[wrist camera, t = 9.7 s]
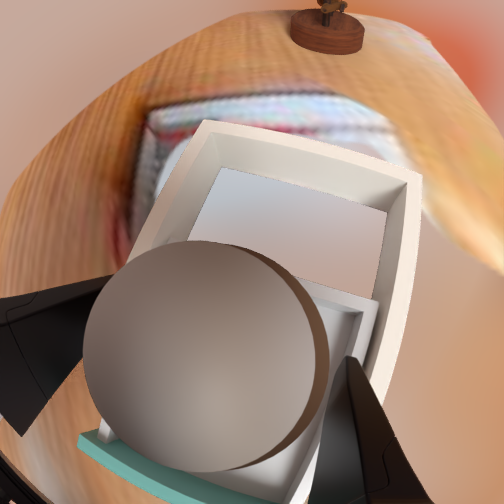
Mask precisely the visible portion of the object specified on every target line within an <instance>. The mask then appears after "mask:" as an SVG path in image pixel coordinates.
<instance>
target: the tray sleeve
mask: <svg viewBox="0 0 504 504" xmlns="http://www.w3.org/2000/svg"><path fill="white" fill-rule="evenodd" d="M221 167H223V168H228V169H233V170H237V171H241V172H246V173H251V174H255V175H259V176H263V177H267V178H271V179H275V180H279V181H283V182H287V183H291V184H294V185H298V186H302V187H305V188H309V189H313V190H316V191H320V192H323V193H327V194H330V195H334V196H337V197H340V198H343V199H347V200H350V201H353V202H357V203H360V204H363V205H366V206H369V207H372V208H375V209H378V210H381V211H384V212H387V219H386V225H385V232H384V238H383V244H382V250H381V255H380V261H379V266H378V271H377V276H376V280H375V285H374V290H373V294H372V298H371V300H374V301H377V302H379V306H378V310H377V314H376V318H375V322H374V326H373V330H372V334H371V338H370V341H369V345H368V348H367V352H366V355H365V358H364V362H363V365H362V368H363V370H364V372H365V374H366V376H367V378H368V380H369V382H370V384H371V386H372V388H373V390H374V392H375V394H376V396H377V398H378V400H379V402H380V404H381V406H382V404H383V401H384V398H385V395H386V392H387V389H388V386H389V383H390V380H391V377H392V373H393V370H394V367H395V363H396V360H397V356H398V352H399V349H400V345H401V340H402V336H403V332H404V328H405V324H406V319H407V314H408V309H409V304H410V299H411V294H412V287H413V282H414V275H415V268H416V261H417V253H418V244H419V233H420V221H421V205H422V175H421V174H419V173H416V172H414V171H411V170H408V169H406V168H403V167H400V166H398V165H395V164H392V163H389V162H386V161H383V160H380V159H377V158H374V157H371V156H368V155H365V154H362V153H358V152H355V151H352V150H349V149H345V148H341V147H338V146H335V145H331V144H327V143H323V142H320V141H316V140H312V139H308V138H304V137H299V136H295V135H291V134H286V133H281V132H277V131H272V130H267V129H262V128H256V127H251V126H245V125H239V124H233V123H227V122H220V121H213V120H205V119H204V120H203V121H202V123H201V124H200V126H199V128H198V129H197V131H196V132H195V134H194V136H193V137H192V139H191V140H190V142H189V144H188V145H187V147H186V149H185V150H184V152H183V154H182V156H181V157H180V159H179V160H178V162H177V164H176V166H175V167H174V169H173V171H172V173H171V174H170V176H169V178H168V180H167V182H166V183H165V185H164V187H163V189H162V191H161V193H160V194H159V196H158V198H157V200H156V202H155V204H154V206H153V208H152V210H151V212H150V214H149V216H148V218H147V220H146V222H145V224H144V226H143V228H142V230H141V232H140V234H139V236H138V238H137V240H136V242H135V244H134V247H133V249H132V251H131V253H130V255H129V257H128V260H127V262H126V264H127V263H128V262H130V261H131V260H132V259H134V258H135V257H137V256H139V255H141V254H143V253H144V252H146V251H149V250H151V249H154V248H156V247H159V246H162V245H166V244H167V242H168V240H169V238H170V237H171V238H174V239H177V240H180V241H187V239H188V237H189V234H190V232H191V230H192V228H193V226H194V223H195V221H196V219H197V217H198V215H199V213H200V210H201V208H202V206H203V204H204V202H205V200H206V198H207V195H208V194H209V192H210V190H211V187H212V185H213V183H214V181H215V179H216V177H217V175H218V173H219V171H220V169H221ZM126 264H125V265H126Z"/></svg>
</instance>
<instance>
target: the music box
mask: <svg viewBox="0 0 504 504" xmlns="http://www.w3.org/2000/svg"><path fill="white" fill-rule="evenodd" d="M317 3H318V4H319V5H320V6H322V8H321V9H306V10H302V11H299V12H297V13H296V14H294V15H293V16H292V17H291V38H292V40H293V41H294V42H295V43H296V44H298V45H300V46H302V47H304V48H306V49H309V50H312V51H316V52H320V53H326V54H335V55H346V54H352V53H356V52H358V51H359V50H360V49H361V48H362V43H363V37H364V31H365V29H364V27H363V25H362V24H361V23H360V22H359V21H358V20H357V19H355V18H354V17H352V16H350V15H347V14H345V13H342V12H344V8H346V7H347V3H346V2H344V1H342V0H317ZM336 10H340V12H338V11H336Z"/></svg>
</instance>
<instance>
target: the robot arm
mask: <svg viewBox="0 0 504 504" xmlns="http://www.w3.org/2000/svg"><path fill="white" fill-rule="evenodd" d="M113 275H114V274H113ZM113 275H108V276H104V277H99V278H95V279H90V280H86V281H81V282H77V283H72V284H68V285H64V286H59V287H55V288H51V289H46V290H42V291H39V292H38V291H37V292H33V293H28V294H24V295H19V296H13V297H7V298H0V421H1V420H2V419H3V418H5V420H6V421H7V422H8V423H9V424H10V425H11V426H12V427H13V429H14V430H15V431H16V432H17V433H18V434H19V435H20V436H21V437H22V436H23V435H24V434H25V432H26V431H27V430H28V428H29V427H30V425H31V424H32V423H33V421H34V420H35V418H36V417H37V416H38V414H39V413H40V412H41V410H42V409H43V408H44V406H45V405H46V404H47V402H48V400H49V399H50V398H51V397H52V395H53V394H54V393H55V392H56V390H57V389H58V388H59V386H60V385H61V384H62V383H63V381H64V380H65V379H66V377H67V376H68V375H69V374H70V372H71V371H72V370H73V369H74V367H75V366H76V365H77V364H78V362H79V361H80V360H81V359H82V358H83V342H84V334H85V329H86V324H87V321H88V318H89V315H90V312H91V309H92V307H93V305H94V303H95V301H96V299H97V297H98V295H99V294H100V292H101V291H102V289H103V288H104V286H105V285H106V284H107V282H108V281H109V280H110V279H111V278H112V276H113ZM394 436H395V434H394V431H393V430H392V427H391V425H390V423H389V421H388V419H387V417H386V415H385V412H384V410H383V408H382V406H381V404H380V402H379V400H378V398H377V396H376V394H375V392H374V390H373V388H372V386H371V384H370V382H369V380H368V378H367V376H366V374H365V372H364V370H363V368H362V366H361V364H360V362H359V360H358V359H357V358H356V357H352V356H349V355H346V356H345V357H344V358H343V360H342V361H341V363H340V365H339V367H338V368H337V370H336V372H335V375H334V379H333V383H332V387H331V391H330V395H329V399H328V402H327V406H326V410H325V414H324V420H323V426H322V433H321V439H320V445H319V450H318V456H317V461H316V467H315V472H314V477H313V481H312V486H311V491H310V495H309V499H308V504H434V502H433V501H432V500H431V499H430V498H429V496H428V495H427V493H426V491H425V490H424V488H423V486H422V484H421V483H420V481H419V480H418V478H417V476H416V474H415V473H414V471H413V469H412V467H411V466H410V464H409V462H408V460H407V458H406V457H405V454H404V452H403V450H402V448H401V446H400V444H399V442H398V440H397V438H396V437H394ZM11 500H12V501H13V502H15V503H16V504H54V503H53V502H52V501H50V500H49V499H48V498H47V497H46V496H45V495H44V494H42V493H41V492H40V491H39V490H38V489H37V488H36V487H35V486H34V485H33V484H32V483H31V482H30V481H29V480H28V479H27V478H26V477H25V476H24V475H23V474H22V473H21V472H20V471H19V470H18V469H17V468H16V467H15V466H14V465H13V464H12V463H11V462H10V461H9V459H8V458H7V457H6V456H5V455H4V454H3V452H2V451H1V450H0V504H10V503H9V502H10V501H11Z"/></svg>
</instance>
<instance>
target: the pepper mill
mask: <svg viewBox="0 0 504 504" xmlns="http://www.w3.org/2000/svg"><path fill="white" fill-rule="evenodd" d="M83 365H84V371H85V377H86V381H87V385H88V388H89V391H90V394H91V397H92V399H93V401H94V403H95V406H96V408H97V409H98V411H99V413H100V414H101V416H102V418H103V419H104V421H105V422H106V423H107V425H108V426H109V427H110V428H111V430H112V431H113V432H114V433H115V434H116V435H117V436H118V437H119V438H120V439H121V440H122V441H123V442H124V443H125V444H127V445H128V446H129V447H130V448H132V449H133V450H134V451H136V452H137V453H139V454H141V455H142V456H144V457H146V458H148V459H149V460H152V461H154V462H156V463H159V464H161V465H163V466H167V467H170V468H174V469H177V470H183V471H190V472H216V471H229V470H235V469H241V468H245V467H249V466H252V465H255V464H258V463H261V462H263V461H265V460H267V459H269V458H271V457H273V456H275V455H276V454H278V453H279V452H281V451H282V450H284V449H286V448H287V447H288V446H289V445H290V444H291V443H293V442H294V441H295V440H296V439H297V438H298V437H299V436H300V435H301V434H302V433H303V431H304V430H305V429H306V428H307V427H308V425H309V424H310V422H311V421H312V419H313V418H314V416H315V414H316V413H317V411H318V409H319V406H320V404H321V402H322V400H323V397H324V394H325V390H326V386H327V383H328V376H329V368H330V351H329V344H328V338H327V333H326V330H325V326H324V323H323V320H322V318H321V316H320V313H319V311H318V309H317V307H316V305H315V303H314V302H313V300H312V298H311V297H310V295H309V294H308V292H307V291H306V290H305V289H304V287H303V286H302V285H301V284H300V283H299V281H298V280H297V279H296V278H295V277H293V276H292V275H291V274H290V273H289V272H288V271H287V270H286V269H284V268H283V267H282V266H280V265H279V264H277V263H276V262H275V261H273V260H271V259H269V258H267V257H265V256H264V255H262V254H260V253H257V252H254V251H252V250H249V249H247V248H243V247H239V246H235V245H229V244H221V243H217V242H209V241H182V242H174V243H170V244H166V245H162V246H159V247H156V248H154V249H151V250H149V251H146V252H144V253H143V254H141V255H139V256H137V257H135V258H134V259H132V260H131V261H130V262H128V263H127V264H126V265H124V266H123V267H122V268H121V269H120V270H119V271H118V272H116V273H115V274H114V275H113V276H112V278H111V279H110V280H109V281H108V282H107V284H106V285H105V286H104V288H103V289H102V291H101V292H100V294H99V295H98V297H97V299H96V301H95V303H94V305H93V307H92V309H91V312H90V315H89V318H88V321H87V324H86V329H85V334H84V342H83Z"/></svg>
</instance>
